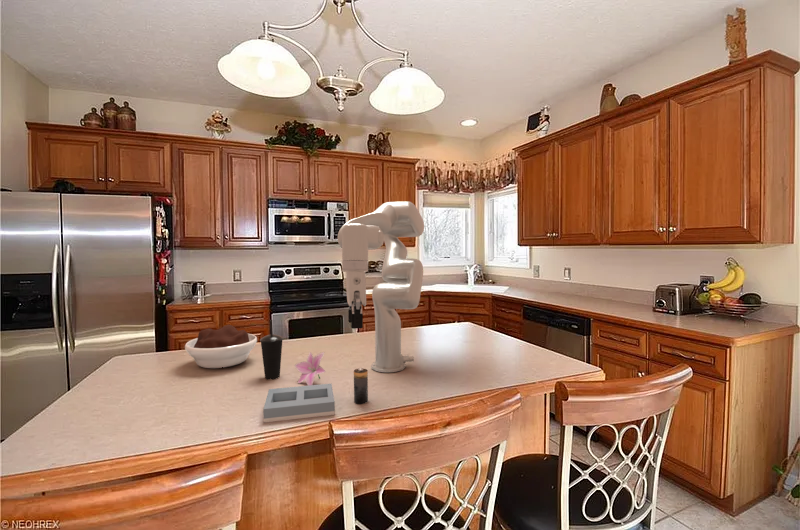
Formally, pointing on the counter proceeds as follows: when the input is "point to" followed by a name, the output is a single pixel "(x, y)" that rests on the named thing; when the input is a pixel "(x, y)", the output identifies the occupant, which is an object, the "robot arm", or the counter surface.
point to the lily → (310, 368)
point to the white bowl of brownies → (221, 347)
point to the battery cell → (360, 386)
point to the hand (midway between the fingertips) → (355, 325)
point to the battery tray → (299, 402)
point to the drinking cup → (271, 354)
